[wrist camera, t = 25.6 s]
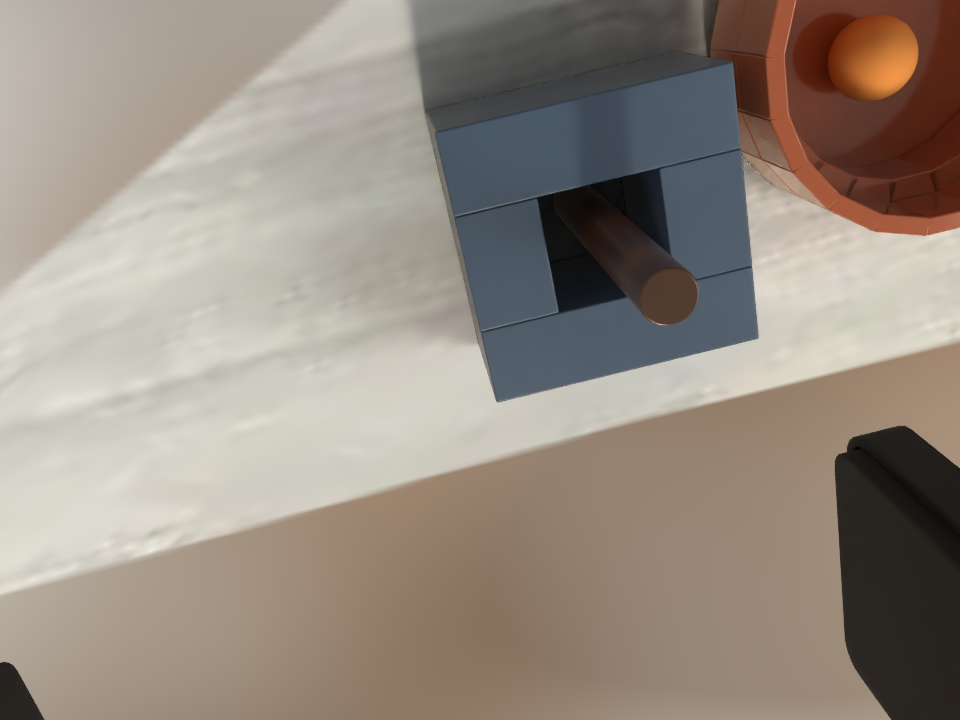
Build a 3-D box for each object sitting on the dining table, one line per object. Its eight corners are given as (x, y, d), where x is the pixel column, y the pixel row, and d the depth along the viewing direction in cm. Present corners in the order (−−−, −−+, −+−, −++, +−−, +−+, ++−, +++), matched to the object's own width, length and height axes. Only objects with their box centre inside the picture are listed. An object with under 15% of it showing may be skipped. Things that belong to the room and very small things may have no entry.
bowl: (687, -108, 33) (750, -128, 28) (1029, -187, 33) (1158, -224, 28) (723, 231, 38) (782, 271, 33) (1018, 160, 39) (1124, 188, 33)
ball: (812, 99, 34) (855, 20, 32) (813, 65, 36) (852, -10, 34) (892, 126, 34) (940, 49, 32) (887, 91, 36) (932, 16, 34)
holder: (424, 110, 35) (434, 132, 30) (677, 50, 35) (733, 60, 30) (479, 346, 39) (497, 403, 34) (705, 291, 39) (759, 339, 34)
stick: (551, 182, 37) (637, 272, 25) (593, 176, 37) (699, 262, 25) (554, 224, 37) (640, 331, 26) (596, 218, 38) (701, 321, 26)
